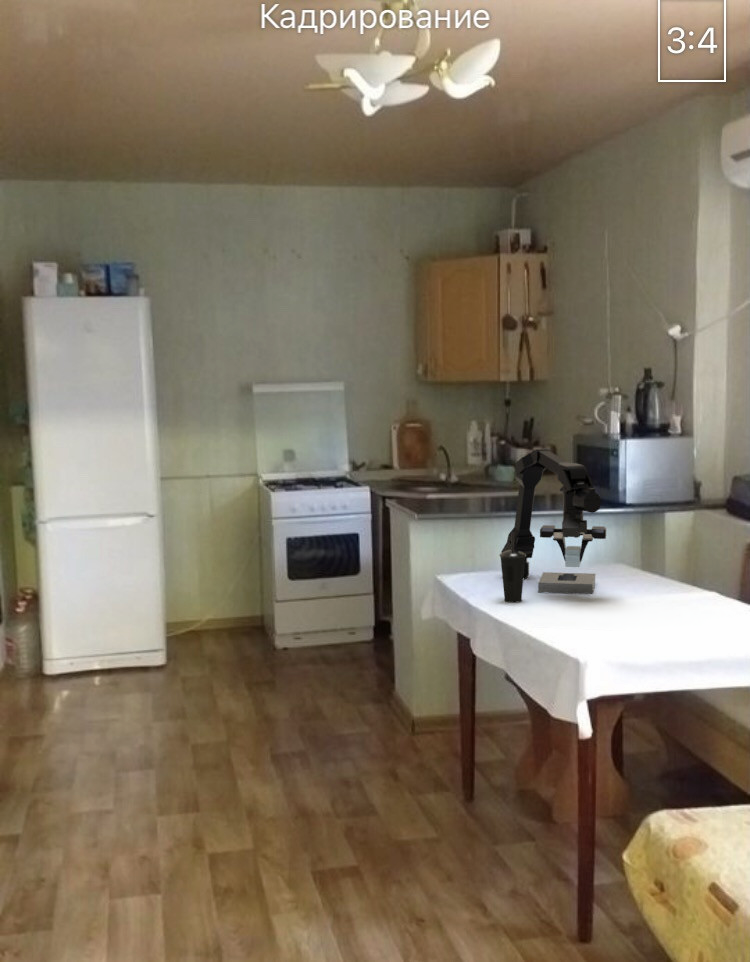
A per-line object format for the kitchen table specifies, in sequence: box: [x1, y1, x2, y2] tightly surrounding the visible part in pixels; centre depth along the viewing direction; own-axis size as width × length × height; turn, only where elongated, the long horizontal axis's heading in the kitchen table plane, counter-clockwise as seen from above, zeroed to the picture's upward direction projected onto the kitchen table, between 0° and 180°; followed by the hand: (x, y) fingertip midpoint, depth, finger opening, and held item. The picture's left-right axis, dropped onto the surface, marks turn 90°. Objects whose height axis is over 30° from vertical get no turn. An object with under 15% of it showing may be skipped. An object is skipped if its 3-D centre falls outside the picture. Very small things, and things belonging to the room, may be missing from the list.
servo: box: [564, 545, 582, 568], centre depth 305 cm, size 4×10×5 cm, turn 165°
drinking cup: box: [499, 531, 526, 603], centre depth 302 cm, size 8×8×20 cm
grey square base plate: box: [537, 571, 596, 595], centre depth 319 cm, size 16×16×3 cm
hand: (573, 561), depth 305 cm, fingers closed on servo, 4 cm apart
